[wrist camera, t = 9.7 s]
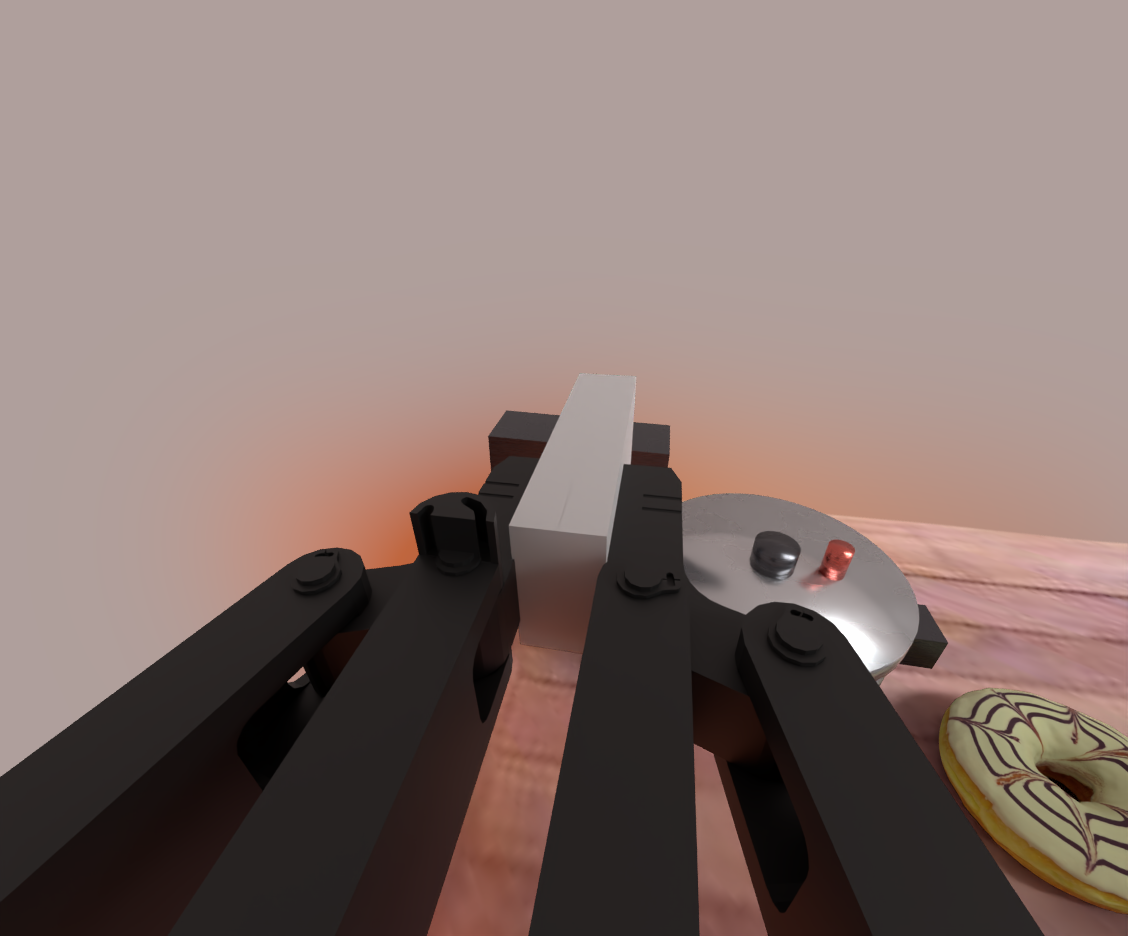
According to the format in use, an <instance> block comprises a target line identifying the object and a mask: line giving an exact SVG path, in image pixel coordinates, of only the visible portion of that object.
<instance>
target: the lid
mask: <svg viewBox="0 0 1128 936" xmlns="http://www.w3.org/2000/svg"><path fill="white" fill-rule="evenodd" d="M559 417H560V415H548V414H538V413H527V412H516V411H506V412H505V414H504V415H503V416H502V418H501V419H500V420H499V422H498V423H497V425H496V426H495V428H494V429H493V430H492V432H491V433H490V435H489V436H488V438H489V449H490V463H491V471H492V469H493V468H494V467H495V466H496V465H498V464H499V463H501V462H502V461H503V460H505V459H506V458H508V457H509V456H517V457H528V458H540V457H541V455H542V453H543V451H544V449H545V447H546V445H547V442H548V440H549V438H550V436H551V434H552V432H553V430H554V427H555V425H556V423H557V421H558V419H559ZM669 445H670V426H668V425H658V424H647V423H636V422H633V436H632V451H631V465H642V466H654V467H666V468H668V461H669V450H670V448H669V447H670V446H669ZM682 527H683V565H684V570H685V574H686V576H687V577H688V579H689V581H690V583H691V584H692V585H693V586H694V587H695V588H696V589H697V590H698V591H699V592H700V593H701V594H703V595H704V596H706V597H707V598H708V599H710V600H712V601H714V602H716V603H718V604H720V605H722V606H725V607H727V608H730V609H732V610H735V611H738V612H740V613H743V614H745V615H746V614H747V613H748V612H750V611H751V610H752V609H754V608H755V607H756V606H758V605H761V604H766V603H770V602H784V603H794V604H797V605H800V606H803V607H805V608H808V609H811V610H814V611H816V612H817V613H819V614H820V615H822V616H823V617H825V618H826V619H828V620H830V621H831V622H833V623H834V624H835V625H836V626H837V628H838V629H839V630H840V631H841V632H842V633H843V634H844V635H845V636H846V637H847V639H848V640H849V642H850V643H851V645H852V646H853V648H854V649H855V651H856V652H857V654H858V655H859V657H860V658H861V660H862V661H863V663H864V664H865V666H866V667H867V669H868V670H869V672H870V673H871V675H872V676H873V678H874V679H875V681H877V680H879V679H881V678H883V677H885V676H886V675H887V674H889V673H890V672H891V671H892V670H894V669H895V668H896V667H897V666H898V664H899V663H900V662H901V661H902V659H903V658H904V657H905V655H906V653H907V651H908V650H909V648H910V646H911V645H912V643H913V641H914V638H915V636H916V634H917V632H918V625H919V608H918V604H917V601H916V597H915V594H914V592H913V590H912V588H911V586H910V584H909V582H908V580H907V579H906V578H905V576H904V575H903V573H902V572H901V570H900V569H899V568H898V567H897V566H896V564H895V563H894V562H893V561H892V560H891V559H890V558H889V557H888V556H887V555H886V554H885V553H884V552H883V551H882V550H881V549H880V548H879V547H877V546H876V545H875V544H874V543H872V542H871V541H870V540H869V539H867V538H866V537H864V536H863V535H861V534H860V533H858V532H857V531H855V530H854V529H852V528H850V527H849V526H847V525H845V524H844V523H842V522H840V521H838V520H836V519H834V518H832V517H830V516H828V515H826V514H823V513H821V512H818V511H816V510H814V509H811V508H808V507H805V506H802V505H799V504H796V503H793V502H789V501H785V500H781V499H777V498H771V497H766V496H760V495H752V494H730V493H728V494H727V493H726V494H713V495H707V496H701V497H697V498H693V499H690V500H687V501H684V502H682Z"/></svg>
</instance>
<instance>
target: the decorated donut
mask: <svg viewBox="0 0 1128 936" xmlns="http://www.w3.org/2000/svg"><path fill="white" fill-rule="evenodd" d="M939 751H940V755H941V760H942V763H943V766H944V770H945V772H946V774H947V776H948V779H949V781H950V782H951V784H952V785H953V787H954V788H955V790H956V792H957V793H958V795H959V796H960V798H961V800H962V803H963V805H964V806H965V807H966V808H967V810H968V811H969V812H970V814H971V815H972V816H973V817H974V818H975V819H976V820H977V821H978V823H979V824H980V825H981V826H982V828H983V829H984V830H985V831H986V832H987V833H988V834H989V835H990V836H991V837H992V839H993V840H994V841H995V842H996V843H997V844H998V845H1000V846H1001V847H1002V848H1003V849H1004V850H1006V851H1007V852H1008V853H1009V854H1010V855H1011V856H1012V857H1013V858H1014V859H1016V860H1017V861H1018V862H1019V863H1020V864H1021V865H1023V866H1024V867H1026V868H1027V869H1028V870H1030V871H1031V872H1032V873H1034V874H1035V875H1037V876H1038V877H1040V878H1041V879H1043V880H1044V881H1046V882H1048V883H1049V884H1051V885H1053V886H1055V887H1056V888H1058V889H1060V890H1062V891H1064V892H1066V893H1068V894H1070V895H1073V896H1075V897H1077V898H1079V899H1081V900H1083V901H1085V902H1088V903H1090V904H1092V905H1095V906H1098V907H1100V908H1104V909H1107V910H1109V911H1114V912H1116V913H1121V914H1127V915H1128V738H1127V737H1126V736H1124V735H1123V734H1121V733H1120V732H1118V731H1117V730H1115V729H1114V728H1112V727H1111V726H1109V725H1107V724H1105V723H1103V722H1101V721H1098V720H1096V719H1094V718H1092V717H1089V716H1087V715H1085V714H1083V713H1080V712H1078V711H1076V710H1074V709H1071V708H1069V707H1067V706H1065V705H1062V704H1059V703H1056V702H1053V701H1050V700H1048V699H1045V698H1043V697H1041V696H1038V695H1035V694H1032V693H1028V692H1023V691H1017V690H1009V689H997V688H986V689H982V690H977V691H972V692H968V693H965V694H963V695H962V696H961V697H959V698H957V699H955V700H954V702H953V703H952V704H951V706H949V708H948V709H947V710H946V711H945V714H944V716H943V719H942V722H941V726H940V732H939ZM1045 776H1047V777H1050V778H1052V779H1055V780H1057V781H1059V782H1061V783H1062V784H1063V785H1065V786H1066V787H1067V788H1068V789H1069V790H1070V791H1072V792H1073V793H1074V794H1075V795H1076V796H1077V798H1078V800H1079V801H1080V802H1077V801H1076V800H1074V799H1073V798H1072V797H1070V796H1069V795H1068V794H1067V793H1065V792H1064V791H1063V790H1062V789H1061V788H1060V787H1058V786H1057V785H1056V784H1054V783H1053V782H1052V781H1050V780H1049V779H1048V778H1047V777H1045Z"/></svg>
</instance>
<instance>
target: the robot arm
mask: <svg viewBox="0 0 1128 936" xmlns="http://www.w3.org/2000/svg"><path fill="white" fill-rule="evenodd" d="M635 389H636V376H620V375H600V374H582V373H580V374H579V376H578V378H577V380H576V383H575V385H574V387H573V389H572V391H571V393H570V395H569V398H568V399H567V402H566V404H565V406H564V408H563V410H562V412H561V415H560V417H559V419H558V421H557V423H556V425H555V427H554V430H553V432H552V434H551V436H550V438H549V440H548V442H547V445H546V447H545V449H544V451H543V453H542V455H541V457H540V458H528V457H517V456H509V457H508V458H506V459H505V460H503V461H502V462H501V463H499V464H498V465H496V466H495V467H494V468H493V469H492V471H491V473H490V474H489V476H488V478H487V479H486V482H485V484H483V486H482V488H481V489H480V491H479V494H478V495H476V494H472V493H468V492H456V493H455V492H454V493H453V492H452V493H447V494H443V495H438V496H434V497H432V498H430V499H428V500H426V501H424V502H422V503H420V504H419V505H418V506H416V508H414V509H413V510H412V511H411V512H410V517H411V521H412V526H413V530H414V534H415V539H416V543H417V547H418V552H419V555H418V557H417V558H416V560H415V561H414V563H411V564H406V565H401V566H393V567H384V568H376V569H367V570H365V567H364V564H363V561H362V559H361V556H360V555H358V554H357V553H355V552H354V551H352V550H349V549H343V548H330V549H320V550H317V551H315V552H312V553H309V554H306V555H303V556H301V557H299V558H298V559H296V560H294V561H293V562H291V563H289V564H287V565H286V566H285V567H283V568H282V569H281V570H279V571H278V572H277V573H275V574H274V575H273V576H271V577H270V578H269V579H267V580H266V581H265V582H263V583H262V584H260V585H259V586H258V587H256V588H255V589H254V590H252V591H251V592H250V593H249V594H247V595H246V596H244V597H243V598H242V599H240V600H239V601H238V602H236V603H235V604H233V605H232V606H231V607H229V608H228V609H227V610H225V611H224V612H223V613H221V614H220V615H219V616H217V617H216V618H214V619H213V620H212V621H211V622H209V623H208V624H206V625H205V626H204V627H202V628H201V629H200V630H198V631H197V632H196V633H194V634H193V635H192V636H190V637H189V638H187V639H186V640H185V641H183V642H182V643H181V644H179V645H178V646H177V647H175V648H174V649H173V650H171V651H170V652H169V653H167V654H166V655H165V656H163V657H162V658H160V659H159V660H158V661H156V662H155V663H154V664H152V665H151V666H150V667H148V668H147V669H146V670H144V671H143V672H142V673H140V674H139V675H137V676H136V677H135V678H133V679H132V680H131V681H129V682H128V683H127V684H125V685H124V686H123V687H121V688H120V689H119V690H117V691H116V692H115V693H114V694H112V695H110V696H109V697H108V698H106V699H105V700H104V701H102V702H101V703H100V704H98V705H97V706H96V707H94V708H93V709H92V710H90V711H89V712H88V713H86V714H85V715H83V716H82V717H81V718H79V719H78V720H77V721H75V722H74V723H73V724H71V725H70V726H69V727H67V728H66V729H65V730H63V731H62V732H61V733H59V734H58V735H57V736H55V737H54V738H53V739H51V740H50V741H48V742H47V743H46V744H44V745H43V746H42V747H40V748H39V749H38V750H36V751H35V752H33V753H32V754H31V755H30V756H28V757H27V758H25V759H24V760H23V761H21V762H20V763H19V764H17V765H16V766H15V767H13V768H12V769H11V770H9V771H8V772H6V773H5V774H4V775H3V776H1V777H0V936H427V933H428V930H429V927H430V924H431V921H432V918H433V915H434V911H435V908H436V905H437V902H438V899H439V896H440V893H441V890H442V887H443V883H444V880H445V877H446V874H447V871H448V868H449V865H450V862H451V859H452V855H453V852H454V849H455V846H456V843H457V840H458V837H459V834H460V830H461V827H462V824H463V821H464V818H465V815H466V812H467V809H468V806H469V802H470V799H471V796H472V793H473V790H474V787H475V784H476V781H477V778H478V774H479V771H480V768H481V765H482V762H483V759H484V756H485V753H486V750H487V746H488V743H489V740H490V737H491V734H492V731H493V728H494V725H495V722H496V718H497V715H498V712H499V709H500V706H501V703H502V700H503V697H504V694H505V690H506V687H507V684H508V681H509V678H510V675H511V671H512V661H513V659H512V650H511V646H512V643H513V640H514V638H515V635H516V632H517V629H518V626H519V636H520V644H523V645H529V646H536V647H542V648H549V649H555V650H562V651H568V652H574V653H581V654H583V655H582V660H581V665H580V671H579V676H578V681H577V686H576V691H575V696H574V702H573V707H572V712H571V717H570V722H569V728H568V733H567V738H566V743H565V748H564V754H563V759H562V764H561V769H560V774H559V780H558V785H557V790H556V795H555V800H554V805H553V811H552V816H551V821H550V826H549V831H548V837H547V842H546V847H545V852H544V857H543V863H542V868H541V873H540V878H539V883H538V889H537V894H536V899H535V904H534V909H533V915H532V920H531V925H530V930H529V935H528V936H700V935H699V903H698V871H697V838H696V806H695V774H694V744H696V745H698V746H700V747H702V748H704V749H706V750H708V751H709V752H711V753H713V754H714V757H715V761H716V764H717V767H718V770H719V774H720V777H721V780H722V784H723V787H724V790H725V794H726V797H727V800H728V804H729V807H730V810H731V814H732V817H733V820H734V824H735V827H736V830H737V834H738V837H739V840H740V844H741V847H742V850H743V854H744V857H745V860H746V864H747V867H748V870H749V874H750V877H751V880H752V884H753V887H754V890H755V894H756V897H757V900H758V903H759V907H760V910H761V913H762V917H763V920H764V923H765V927H766V930H767V933H768V936H1044V934H1043V933H1042V931H1041V930H1040V928H1039V927H1038V925H1037V924H1036V922H1035V921H1034V919H1033V918H1032V916H1031V915H1030V913H1029V912H1028V910H1027V909H1026V907H1025V905H1024V904H1023V902H1022V901H1021V899H1020V898H1019V896H1018V895H1017V893H1016V892H1015V890H1014V889H1013V887H1012V886H1011V884H1010V883H1009V881H1008V880H1007V878H1006V877H1005V875H1004V874H1003V872H1002V871H1001V869H1000V868H999V866H998V865H997V863H996V862H995V860H994V859H993V857H992V856H991V854H990V853H989V851H988V850H987V848H986V847H985V845H984V844H983V842H982V841H981V839H980V838H979V836H978V835H977V833H976V832H975V830H974V829H973V827H972V826H971V824H970V823H969V821H968V820H967V818H966V817H965V815H964V814H963V812H962V810H961V809H960V807H959V806H958V804H957V803H956V801H955V800H954V798H953V797H952V795H951V794H950V792H949V791H948V789H947V788H946V786H945V785H944V783H943V782H942V780H941V779H940V777H939V776H938V774H937V773H936V771H935V770H934V768H933V767H932V765H931V764H930V762H929V761H928V759H927V758H926V756H925V755H924V753H923V752H922V750H921V749H920V747H919V746H918V744H917V743H916V741H915V740H914V738H913V737H912V735H911V734H910V732H909V731H908V729H907V728H906V726H905V725H904V723H903V722H902V720H901V718H900V717H899V715H898V714H897V712H896V711H895V709H894V708H893V706H892V705H891V703H890V702H889V700H888V699H887V697H886V696H885V694H884V693H883V691H882V690H881V688H880V687H879V685H878V684H877V682H876V681H875V679H874V678H873V676H872V675H871V673H870V672H869V670H868V669H867V667H866V666H865V664H864V663H863V661H862V660H861V658H860V657H859V655H858V654H857V652H856V651H855V649H854V648H853V646H852V645H851V643H850V642H849V640H848V639H847V637H846V636H845V635H844V634H843V633H842V632H841V631H840V630H839V629H838V628H837V626H836V625H835V624H834V623H833V622H831V621H830V620H828V619H826V618H825V617H823V616H822V615H820V614H819V613H817V612H816V611H814V610H811V609H808V608H805V607H803V606H800V605H797V604H794V603H784V602H770V603H766V604H761V605H758V606H756V607H755V608H754V609H752V610H751V611H750V612H748V613H747V614H746V615H745V614H743V613H740V612H738V611H735V610H732V609H730V608H727V607H725V606H722V605H720V604H718V603H716V602H714V601H712V600H710V599H708V598H707V597H706V596H704V595H703V594H701V593H700V592H699V591H698V590H697V589H696V588H695V587H694V586H693V585H692V584H691V583H690V581H689V579H688V577H687V576H686V574H685V570H684V565H683V527H682V488H681V487H682V486H681V481H680V480H679V478H678V477H677V476H676V474H675V473H674V471H673V470H672V469H671V468H666V467H654V466H642V465H631V451H632V436H633V420H634V405H635ZM302 667H304V669H305V671H306V673H305V674H304V675H303V676H301V677H300V678H299V679H297V680H296V681H294V682H290V683H288V682H287V681H288V680H289V679H290V678H291V677H292V676H294V675H295V674H296V673H297V672H298V671H299V670H300V668H302Z"/></svg>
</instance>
